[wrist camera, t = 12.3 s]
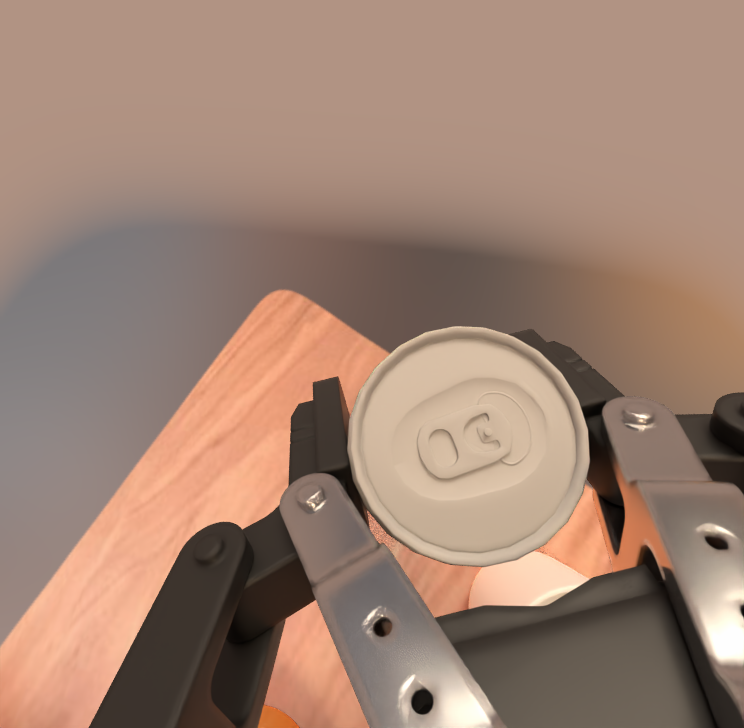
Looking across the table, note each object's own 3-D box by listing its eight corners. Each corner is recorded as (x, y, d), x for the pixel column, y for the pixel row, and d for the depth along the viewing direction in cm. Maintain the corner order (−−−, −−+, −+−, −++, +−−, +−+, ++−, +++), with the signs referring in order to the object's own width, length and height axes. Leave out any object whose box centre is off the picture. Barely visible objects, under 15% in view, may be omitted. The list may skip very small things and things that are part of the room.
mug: (579, 735, 30) (680, 878, 20) (443, 616, 32) (469, 690, 22) (643, 630, 32) (769, 713, 21) (508, 522, 34) (563, 550, 23)
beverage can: (491, 486, 19) (644, 522, 8) (391, 522, 19) (392, 615, 8) (451, 387, 20) (533, 287, 9) (356, 421, 20) (311, 364, 9)
